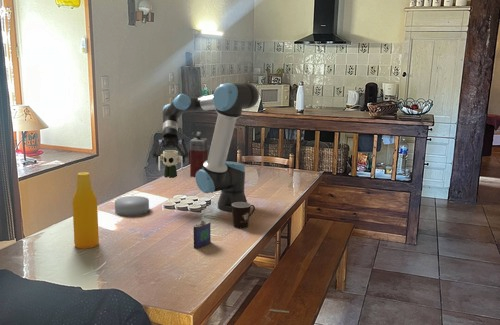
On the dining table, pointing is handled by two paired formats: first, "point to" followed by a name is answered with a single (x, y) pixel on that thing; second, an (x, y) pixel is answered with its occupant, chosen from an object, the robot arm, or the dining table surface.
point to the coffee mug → (241, 214)
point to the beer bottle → (85, 213)
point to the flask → (202, 234)
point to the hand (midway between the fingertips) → (170, 169)
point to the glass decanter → (197, 153)
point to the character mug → (170, 162)
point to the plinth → (131, 206)
